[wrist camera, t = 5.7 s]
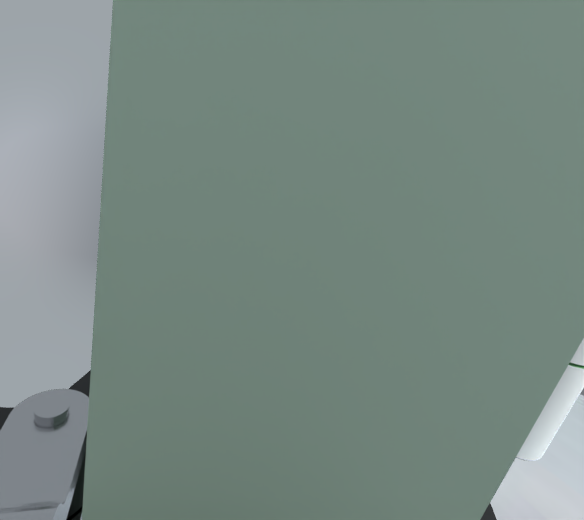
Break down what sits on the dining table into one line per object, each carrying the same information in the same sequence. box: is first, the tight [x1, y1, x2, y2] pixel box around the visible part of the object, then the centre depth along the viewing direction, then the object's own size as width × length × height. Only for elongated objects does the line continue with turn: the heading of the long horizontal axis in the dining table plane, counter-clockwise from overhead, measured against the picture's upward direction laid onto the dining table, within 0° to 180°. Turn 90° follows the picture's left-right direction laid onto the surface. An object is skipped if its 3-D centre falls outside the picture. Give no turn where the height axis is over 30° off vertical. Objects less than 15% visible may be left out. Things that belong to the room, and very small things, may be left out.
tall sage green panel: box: [82, 0, 584, 520], centre depth 8 cm, size 7×4×18 cm, turn 171°
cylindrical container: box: [516, 338, 584, 461], centre depth 34 cm, size 7×7×25 cm
